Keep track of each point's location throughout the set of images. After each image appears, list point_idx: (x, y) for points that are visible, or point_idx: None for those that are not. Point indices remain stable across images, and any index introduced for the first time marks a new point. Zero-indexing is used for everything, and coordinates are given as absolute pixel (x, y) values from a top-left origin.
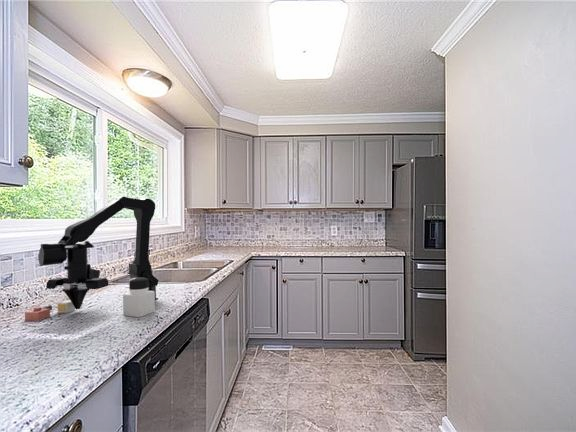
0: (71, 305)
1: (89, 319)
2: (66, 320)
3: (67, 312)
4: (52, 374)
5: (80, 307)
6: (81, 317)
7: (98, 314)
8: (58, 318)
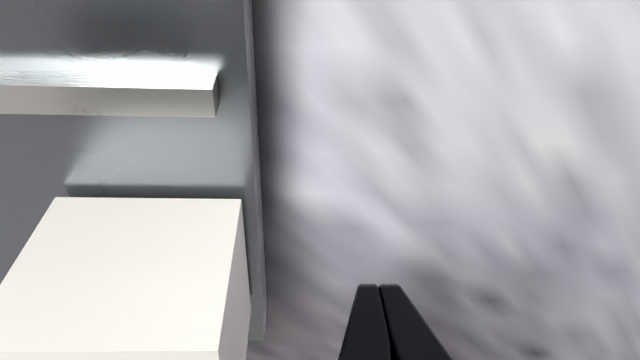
0: (236, 333)
1: (579, 300)
2: None
3: (249, 304)
4: None
5: (406, 298)
6: (448, 259)
7: (631, 148)
8: None
